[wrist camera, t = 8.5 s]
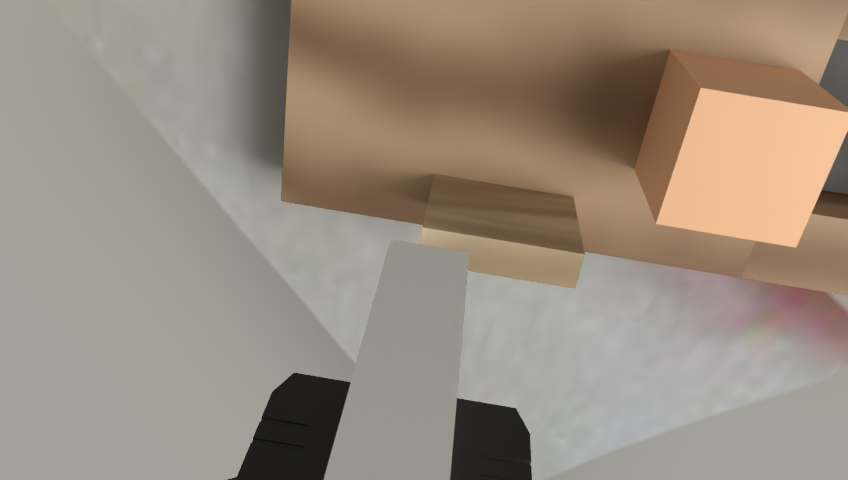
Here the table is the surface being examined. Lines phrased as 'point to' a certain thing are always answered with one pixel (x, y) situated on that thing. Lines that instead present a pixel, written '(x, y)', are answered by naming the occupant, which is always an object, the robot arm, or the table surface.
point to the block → (738, 148)
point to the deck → (539, 126)
